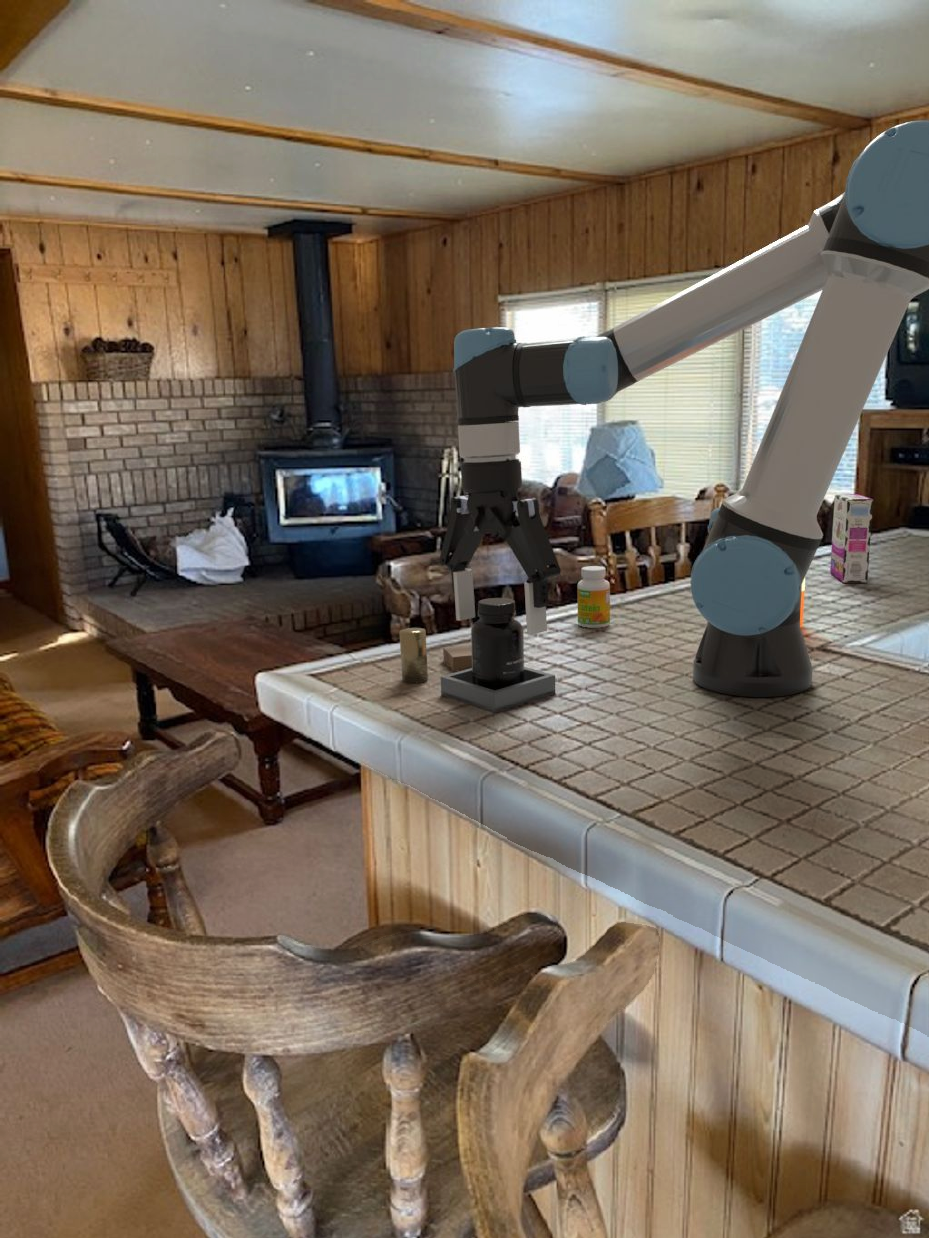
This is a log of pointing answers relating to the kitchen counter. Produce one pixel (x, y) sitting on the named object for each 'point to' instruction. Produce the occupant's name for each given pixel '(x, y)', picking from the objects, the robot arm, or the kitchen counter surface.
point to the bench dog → (413, 655)
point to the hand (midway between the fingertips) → (500, 625)
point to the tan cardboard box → (458, 657)
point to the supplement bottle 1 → (497, 645)
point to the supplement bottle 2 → (593, 598)
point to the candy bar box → (851, 538)
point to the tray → (497, 700)
